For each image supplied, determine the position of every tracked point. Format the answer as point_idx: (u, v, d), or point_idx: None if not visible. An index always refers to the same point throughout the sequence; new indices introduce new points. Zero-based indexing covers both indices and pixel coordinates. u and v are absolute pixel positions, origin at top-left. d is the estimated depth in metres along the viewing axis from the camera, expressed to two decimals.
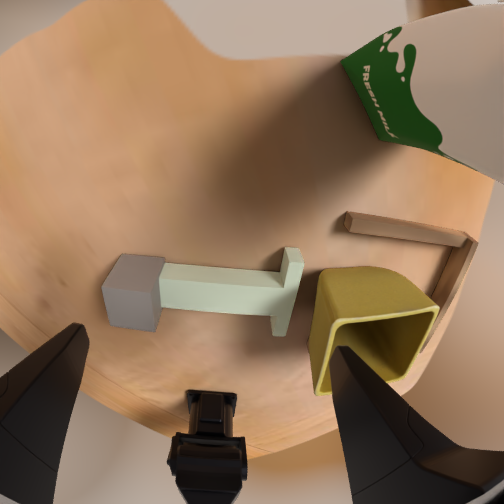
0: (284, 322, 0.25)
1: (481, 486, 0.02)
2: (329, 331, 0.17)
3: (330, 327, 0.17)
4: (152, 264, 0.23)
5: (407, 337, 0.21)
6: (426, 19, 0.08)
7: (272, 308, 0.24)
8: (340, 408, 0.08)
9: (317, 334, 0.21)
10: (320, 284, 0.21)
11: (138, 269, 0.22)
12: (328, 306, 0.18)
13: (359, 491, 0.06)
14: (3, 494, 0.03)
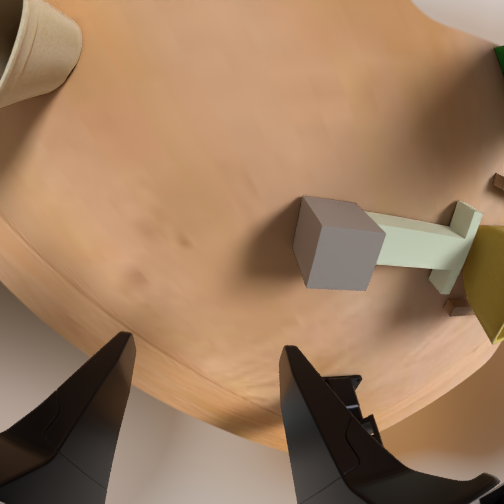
0: (454, 277, 0.20)
1: None
2: None
3: None
4: (352, 207, 0.18)
5: None
6: None
7: (451, 261, 0.20)
8: (285, 412, 0.08)
9: (495, 281, 0.17)
10: (496, 233, 0.17)
11: (343, 211, 0.17)
12: None
13: (303, 501, 0.06)
14: None
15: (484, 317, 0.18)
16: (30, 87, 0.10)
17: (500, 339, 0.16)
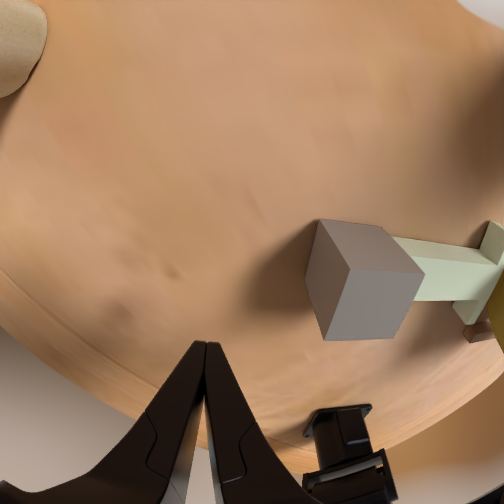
0: (481, 306, 0.17)
1: None
2: None
3: None
4: (379, 235, 0.14)
5: None
6: None
7: (481, 290, 0.16)
8: (205, 410, 0.08)
9: None
10: None
11: (371, 241, 0.13)
12: None
13: None
14: None
15: None
16: None
17: None
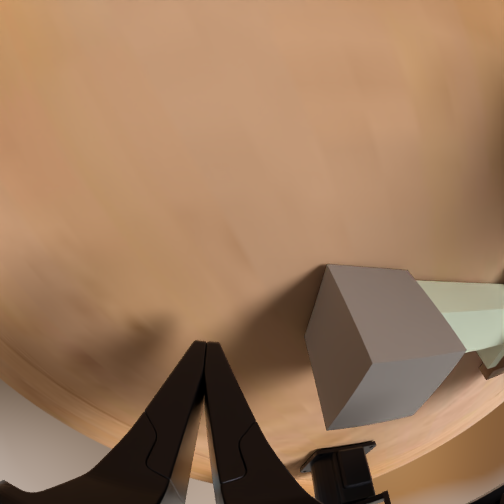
0: None
1: None
2: None
3: None
4: (406, 285, 0.10)
5: None
6: None
7: None
8: (205, 409, 0.08)
9: None
10: None
11: (398, 300, 0.09)
12: None
13: None
14: None
15: None
16: None
17: None
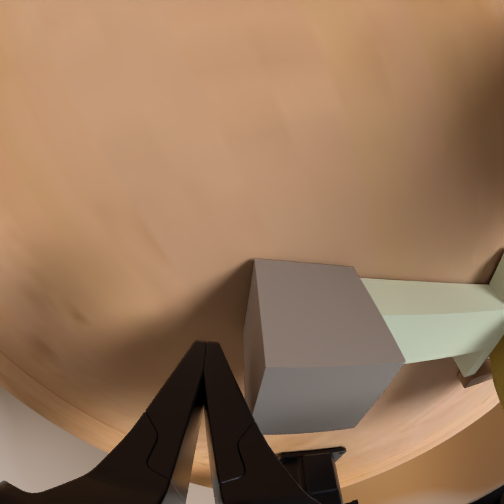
0: (485, 356, 0.12)
1: None
2: None
3: None
4: (345, 283, 0.10)
5: None
6: None
7: (487, 339, 0.11)
8: (204, 409, 0.08)
9: None
10: None
11: (327, 299, 0.09)
12: None
13: None
14: None
15: None
16: None
17: None
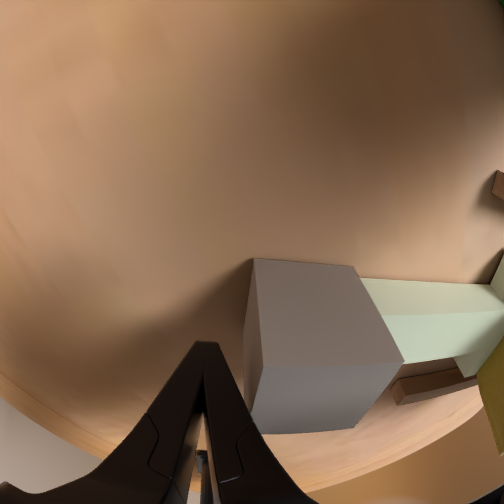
0: (486, 356, 0.12)
1: None
2: None
3: None
4: (344, 283, 0.10)
5: None
6: None
7: (488, 340, 0.11)
8: (203, 409, 0.08)
9: None
10: None
11: (326, 299, 0.09)
12: None
13: None
14: None
15: (498, 418, 0.09)
16: None
17: None
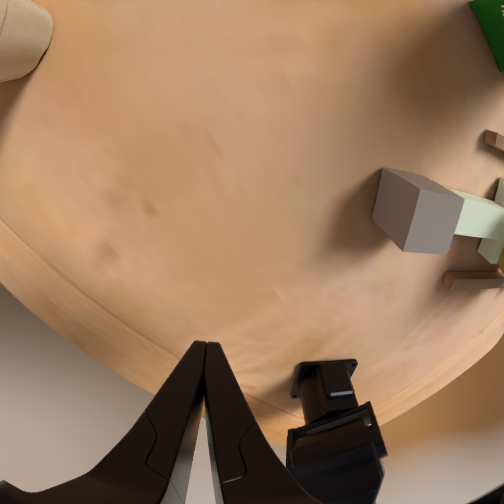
0: (501, 247, 0.19)
1: None
2: None
3: None
4: (426, 179, 0.17)
5: None
6: None
7: (500, 231, 0.18)
8: (205, 410, 0.08)
9: None
10: None
11: (423, 181, 0.16)
12: None
13: None
14: None
15: None
16: (2, 67, 0.09)
17: None
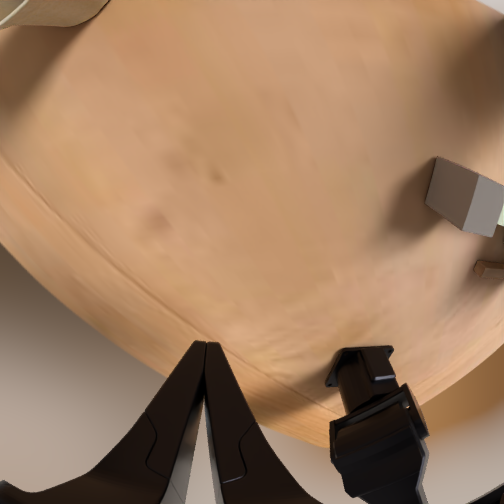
0: None
1: None
2: None
3: None
4: (472, 170, 0.17)
5: None
6: None
7: None
8: (205, 410, 0.08)
9: None
10: None
11: (472, 170, 0.16)
12: None
13: None
14: None
15: None
16: (69, 1, 0.08)
17: None
